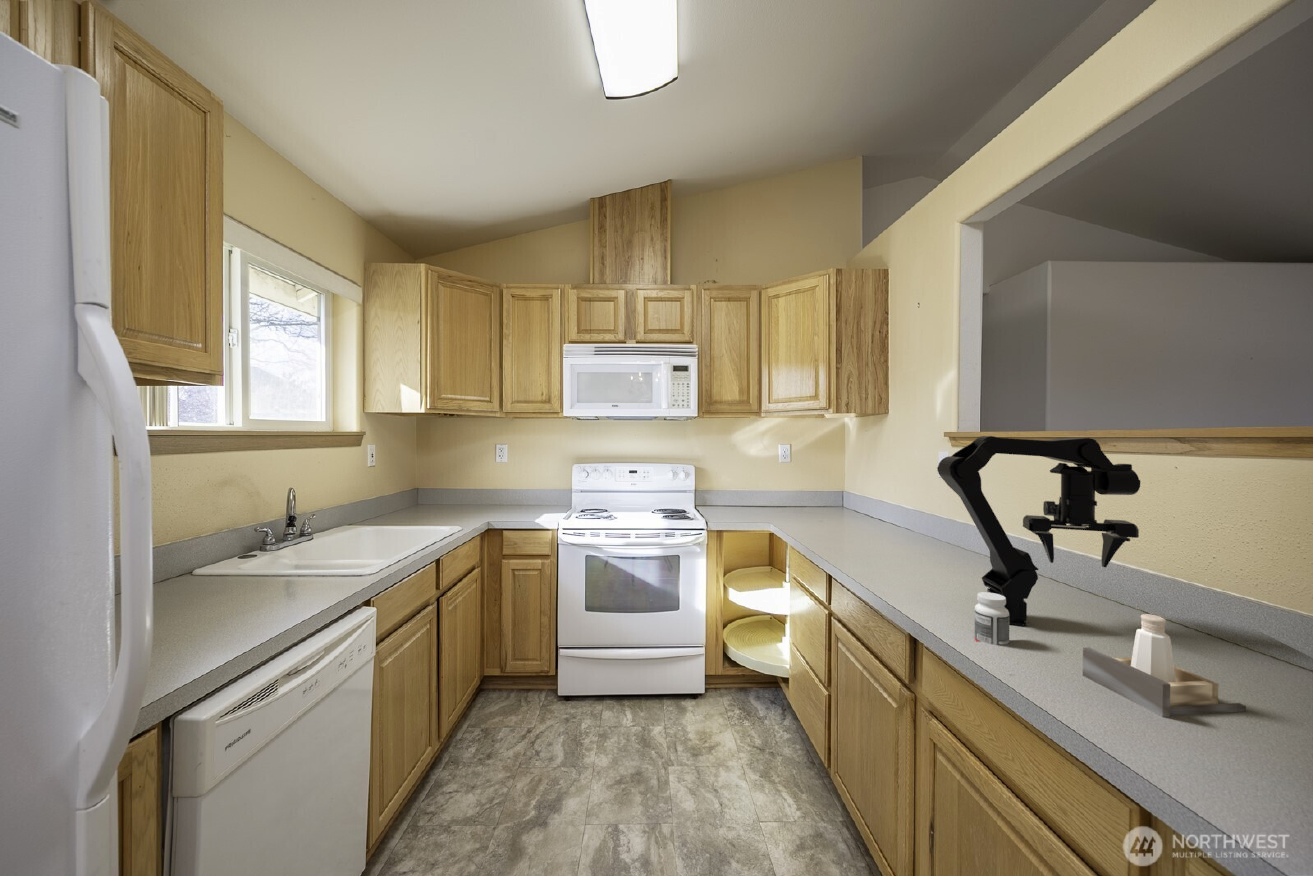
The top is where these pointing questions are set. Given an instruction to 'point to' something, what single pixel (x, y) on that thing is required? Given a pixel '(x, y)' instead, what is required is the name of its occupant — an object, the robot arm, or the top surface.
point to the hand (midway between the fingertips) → (1077, 564)
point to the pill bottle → (991, 619)
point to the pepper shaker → (1153, 649)
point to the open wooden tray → (1141, 686)
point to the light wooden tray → (1188, 688)
